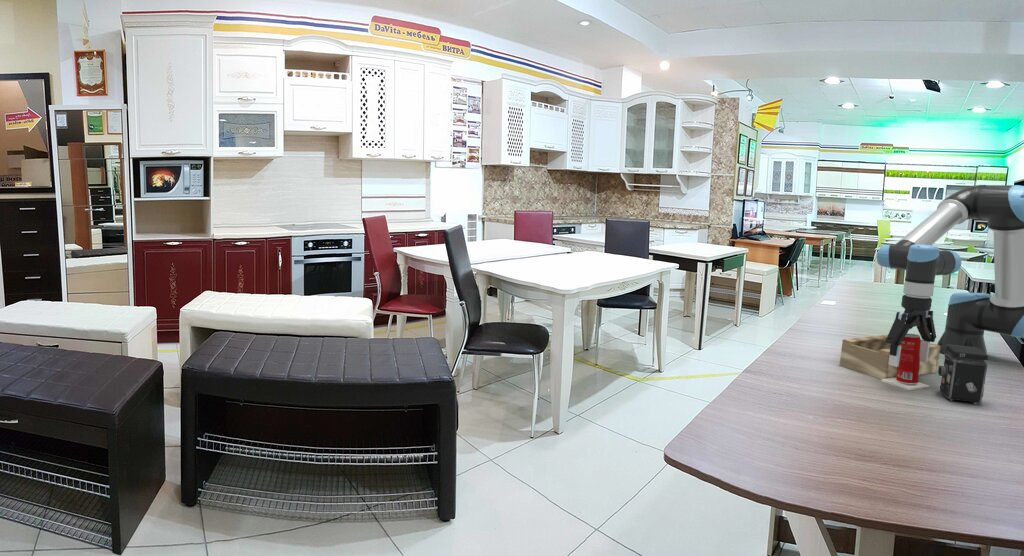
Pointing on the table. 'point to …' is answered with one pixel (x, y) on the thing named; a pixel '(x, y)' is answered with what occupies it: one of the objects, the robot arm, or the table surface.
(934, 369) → the slot box
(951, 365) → the camera
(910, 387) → the tile
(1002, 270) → the robot arm
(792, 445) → the table surface
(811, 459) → the table surface
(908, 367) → the beverage can
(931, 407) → the table surface
